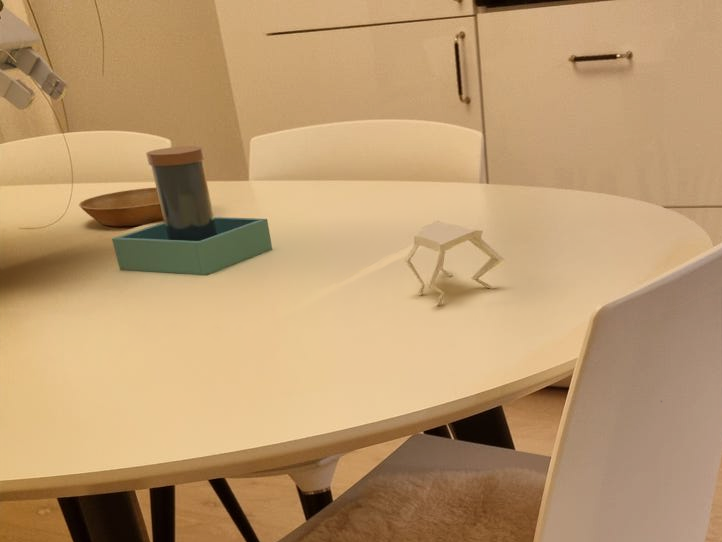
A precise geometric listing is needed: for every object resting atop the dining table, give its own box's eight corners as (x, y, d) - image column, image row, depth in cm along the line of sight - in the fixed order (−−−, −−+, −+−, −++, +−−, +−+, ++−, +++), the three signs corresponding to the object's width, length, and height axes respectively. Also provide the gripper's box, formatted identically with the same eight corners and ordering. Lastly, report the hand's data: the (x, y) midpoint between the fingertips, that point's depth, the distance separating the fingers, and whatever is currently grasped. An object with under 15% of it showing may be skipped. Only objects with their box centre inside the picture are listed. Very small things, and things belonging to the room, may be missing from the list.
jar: (160, 264, 98) (134, 154, 92) (193, 251, 102) (170, 146, 96) (201, 266, 96) (177, 154, 90) (234, 254, 100) (213, 146, 94)
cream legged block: (517, 295, 82) (515, 235, 79) (426, 310, 80) (420, 248, 77) (471, 267, 91) (468, 212, 88) (388, 279, 89) (382, 223, 86)
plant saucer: (83, 235, 116) (77, 212, 114) (85, 215, 127) (79, 194, 126) (205, 221, 119) (200, 198, 117) (196, 203, 131) (192, 182, 129)
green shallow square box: (120, 274, 97) (111, 238, 95) (190, 249, 105) (183, 216, 103) (207, 280, 93) (199, 242, 91) (273, 253, 101) (267, 218, 99)
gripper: (-61, 11, 95) (67, 115, 100) (-169, 15, 78) (-9, 139, 83) (-33, -47, 92) (96, 62, 97) (-139, -56, 75) (24, 77, 81)
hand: (47, 98), depth 90 cm, fingers open, 8 cm apart
